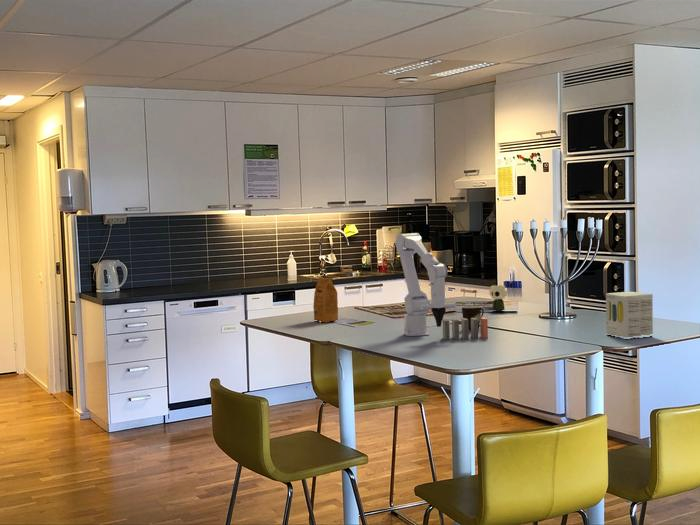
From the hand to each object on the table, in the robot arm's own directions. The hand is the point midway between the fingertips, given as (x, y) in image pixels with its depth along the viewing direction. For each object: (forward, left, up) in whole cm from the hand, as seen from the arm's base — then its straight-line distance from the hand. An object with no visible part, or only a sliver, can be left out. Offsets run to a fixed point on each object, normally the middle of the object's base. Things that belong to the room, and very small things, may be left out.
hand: (438, 326), depth 346 cm
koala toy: (+47, +77, -6) cm, 90 cm away
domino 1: (+7, 0, -6) cm, 9 cm away
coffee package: (-42, +68, -6) cm, 80 cm away
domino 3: (+15, 0, -6) cm, 16 cm away
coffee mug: (+21, +23, -6) cm, 32 cm away
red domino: (+19, 0, -6) cm, 20 cm away
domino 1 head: (+3, 0, -6) cm, 6 cm away
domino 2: (+11, 0, -6) cm, 12 cm away
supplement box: (+75, -15, -6) cm, 77 cm away
